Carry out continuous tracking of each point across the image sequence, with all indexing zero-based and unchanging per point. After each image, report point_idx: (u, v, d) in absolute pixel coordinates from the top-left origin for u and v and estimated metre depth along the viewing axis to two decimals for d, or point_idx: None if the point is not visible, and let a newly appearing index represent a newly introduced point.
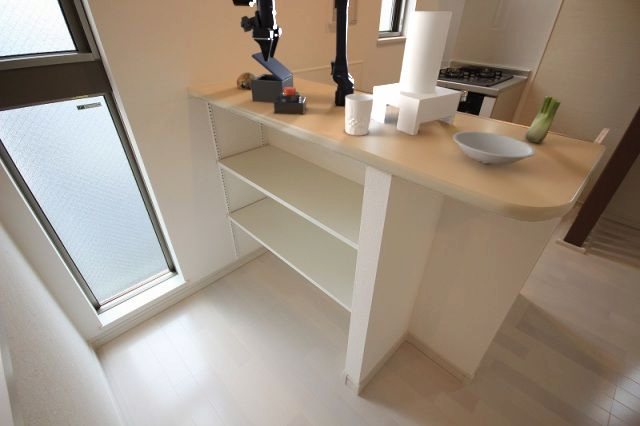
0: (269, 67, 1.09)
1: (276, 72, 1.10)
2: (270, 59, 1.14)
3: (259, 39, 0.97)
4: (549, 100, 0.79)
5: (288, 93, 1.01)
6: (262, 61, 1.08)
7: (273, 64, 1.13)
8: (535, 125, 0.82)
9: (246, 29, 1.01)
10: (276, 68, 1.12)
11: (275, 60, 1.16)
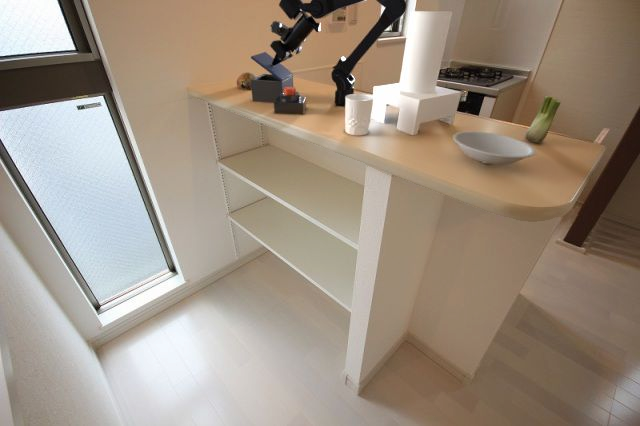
0: (269, 68, 1.09)
1: (276, 72, 1.10)
2: (269, 60, 1.14)
3: None
4: (549, 100, 0.79)
5: (288, 93, 1.01)
6: (261, 62, 1.08)
7: None
8: (535, 125, 0.82)
9: (273, 30, 1.04)
10: (276, 69, 1.12)
11: None
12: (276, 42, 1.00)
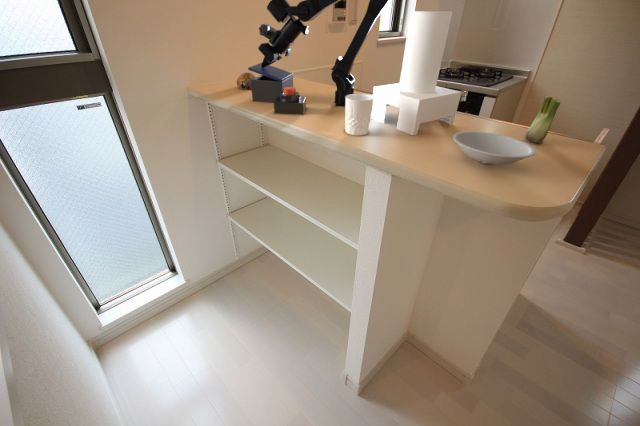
0: (267, 73, 1.10)
1: (275, 75, 1.10)
2: (267, 67, 1.16)
3: None
4: (549, 100, 0.79)
5: (288, 93, 1.01)
6: (259, 70, 1.10)
7: (271, 70, 1.14)
8: (535, 125, 0.82)
9: (261, 33, 1.06)
10: (274, 72, 1.13)
11: (272, 67, 1.18)
12: (264, 45, 1.01)
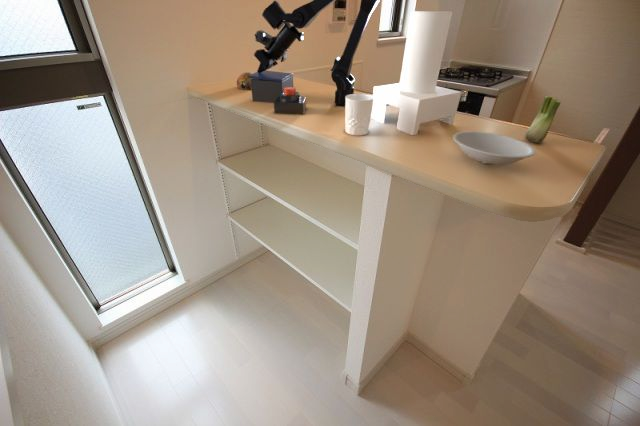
0: (266, 77, 1.11)
1: (274, 77, 1.11)
2: (266, 73, 1.17)
3: None
4: (549, 100, 0.79)
5: (288, 93, 1.01)
6: (258, 76, 1.11)
7: (271, 74, 1.15)
8: (535, 125, 0.82)
9: (257, 40, 1.07)
10: (274, 75, 1.14)
11: (272, 72, 1.19)
12: (259, 51, 1.03)
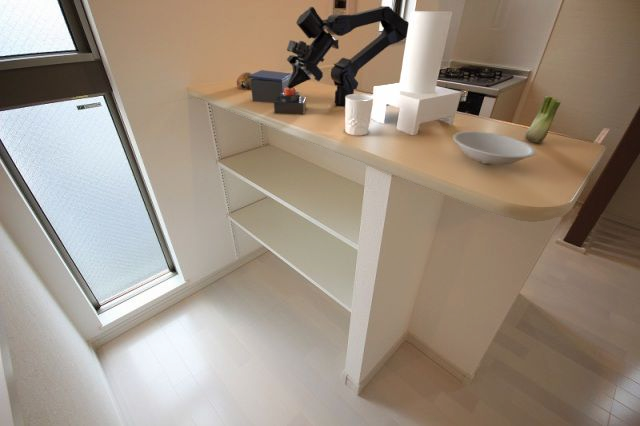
0: (266, 77, 1.11)
1: (274, 77, 1.11)
2: (266, 73, 1.17)
3: (303, 71, 0.97)
4: (549, 100, 0.79)
5: (288, 93, 1.01)
6: (258, 76, 1.11)
7: (271, 74, 1.15)
8: (535, 125, 0.82)
9: (295, 51, 0.94)
10: (274, 75, 1.14)
11: (272, 72, 1.19)
12: (314, 63, 0.92)
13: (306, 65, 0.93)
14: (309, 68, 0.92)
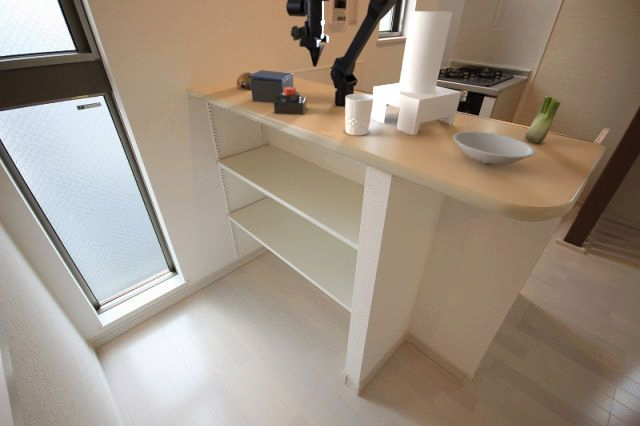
0: (266, 77, 1.11)
1: (274, 77, 1.11)
2: (266, 73, 1.17)
3: (309, 46, 1.06)
4: (549, 100, 0.79)
5: (288, 93, 1.01)
6: (258, 76, 1.11)
7: (271, 74, 1.15)
8: (535, 125, 0.82)
9: (295, 38, 1.07)
10: (274, 75, 1.14)
11: (272, 72, 1.19)
12: (302, 38, 1.01)
13: None
14: (301, 45, 1.02)
